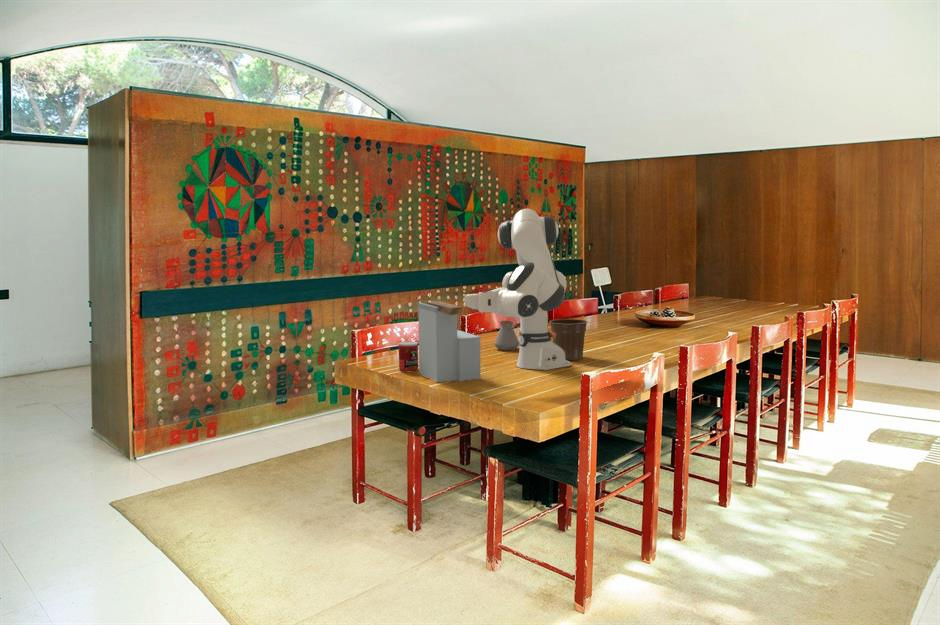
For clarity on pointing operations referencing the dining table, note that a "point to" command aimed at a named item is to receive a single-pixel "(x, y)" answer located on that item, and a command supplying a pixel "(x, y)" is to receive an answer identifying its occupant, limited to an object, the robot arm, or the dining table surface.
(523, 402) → the dining table surface
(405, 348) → the canned food
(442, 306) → the brown bar
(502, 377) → the dining table surface
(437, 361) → the step box
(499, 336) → the coffee pot
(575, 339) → the plant pot
